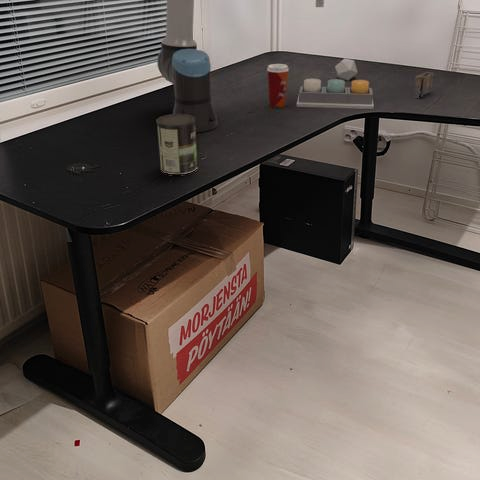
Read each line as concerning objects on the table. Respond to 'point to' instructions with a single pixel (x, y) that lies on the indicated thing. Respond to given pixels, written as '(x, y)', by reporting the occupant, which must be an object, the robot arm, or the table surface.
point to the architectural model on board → (422, 83)
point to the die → (346, 69)
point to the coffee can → (177, 143)
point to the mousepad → (81, 168)
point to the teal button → (336, 86)
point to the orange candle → (360, 86)
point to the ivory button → (312, 85)
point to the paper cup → (277, 84)
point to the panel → (335, 99)
